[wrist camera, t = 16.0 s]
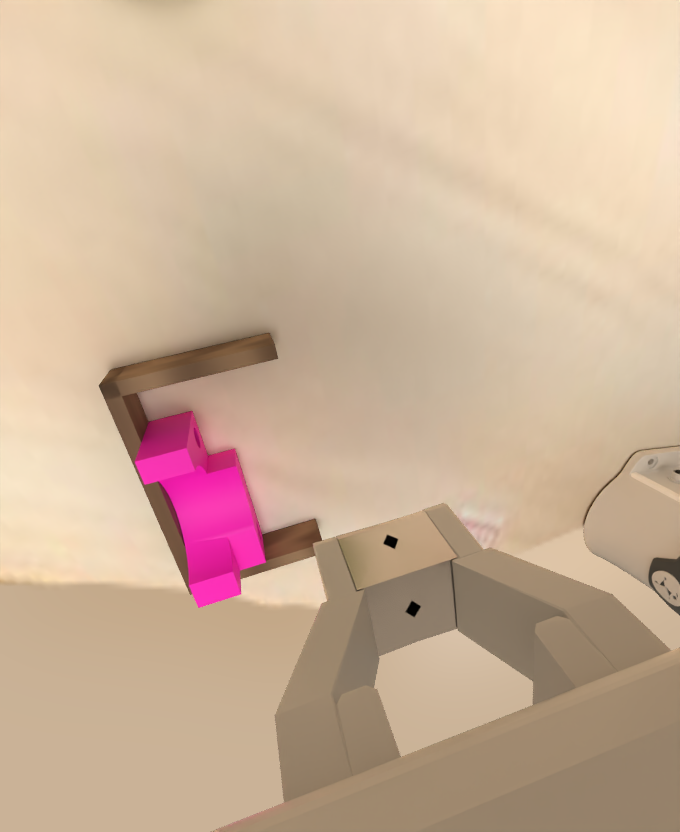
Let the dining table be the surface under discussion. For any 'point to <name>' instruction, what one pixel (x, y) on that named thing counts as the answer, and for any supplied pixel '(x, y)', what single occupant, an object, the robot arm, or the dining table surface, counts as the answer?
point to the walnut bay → (133, 424)
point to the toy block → (204, 505)
